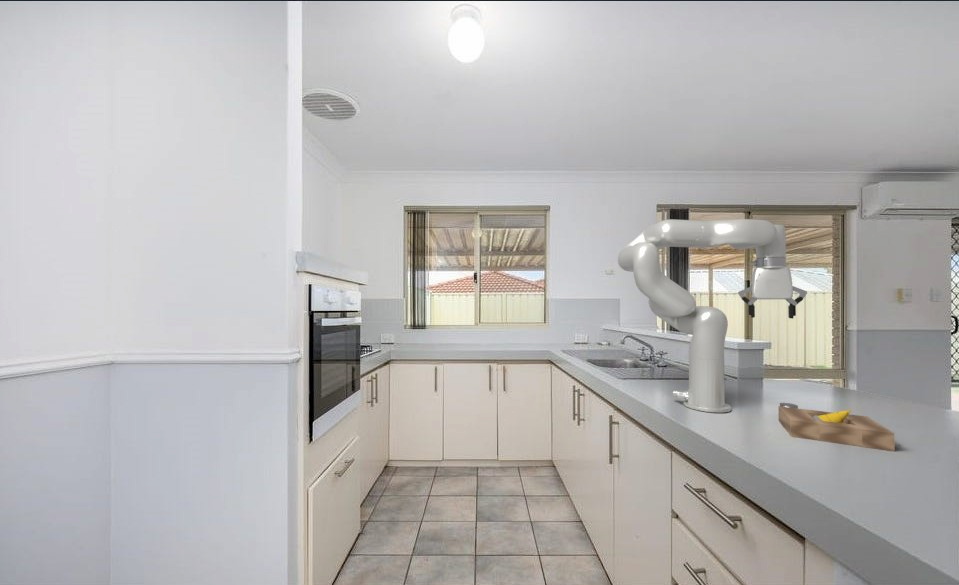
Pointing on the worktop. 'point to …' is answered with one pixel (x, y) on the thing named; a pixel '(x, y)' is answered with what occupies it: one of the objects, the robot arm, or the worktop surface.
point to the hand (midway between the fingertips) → (771, 317)
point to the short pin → (788, 405)
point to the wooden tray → (836, 429)
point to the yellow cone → (833, 416)
